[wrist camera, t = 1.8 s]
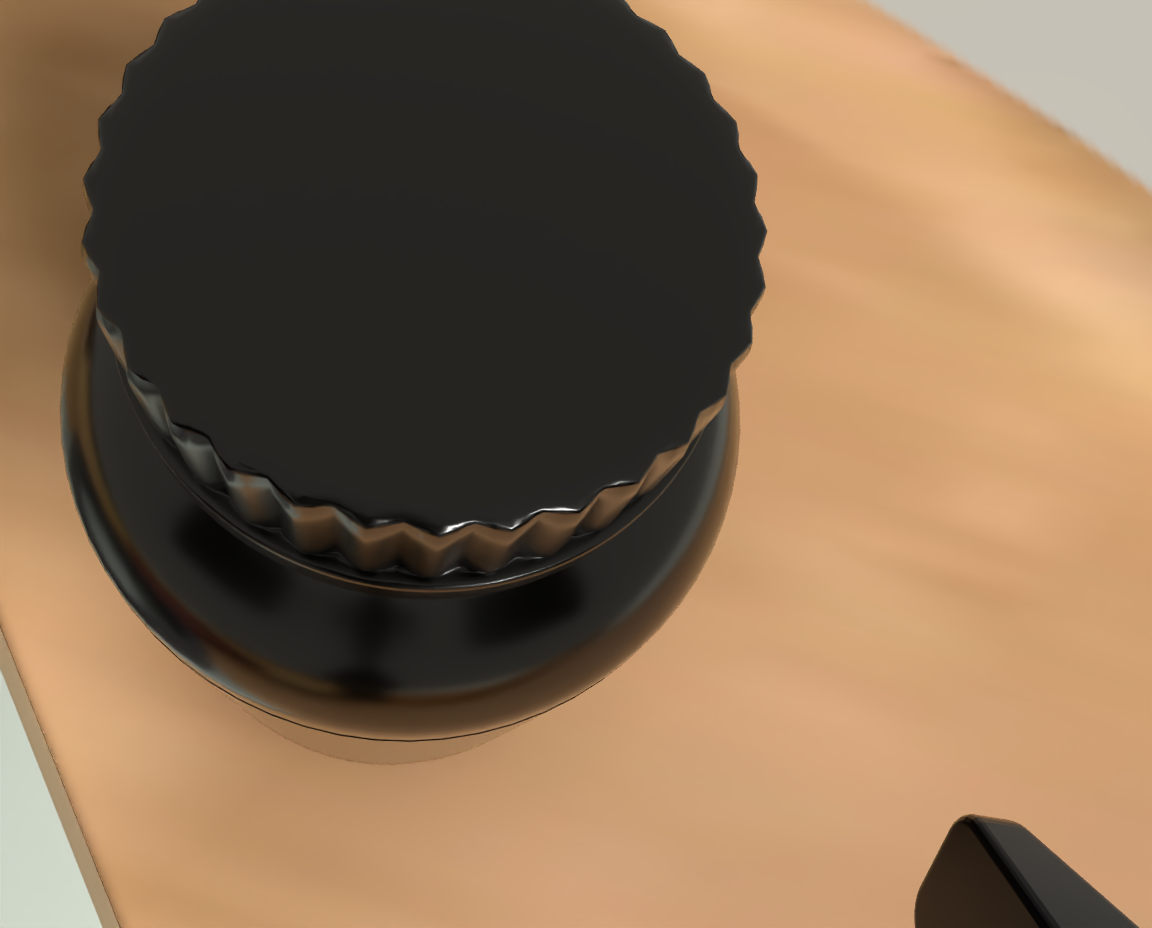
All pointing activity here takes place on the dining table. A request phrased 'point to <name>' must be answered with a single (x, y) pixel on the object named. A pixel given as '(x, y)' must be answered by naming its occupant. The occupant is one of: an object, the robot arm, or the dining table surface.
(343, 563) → the supplement bottle
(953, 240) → the dining table surface
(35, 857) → the board
